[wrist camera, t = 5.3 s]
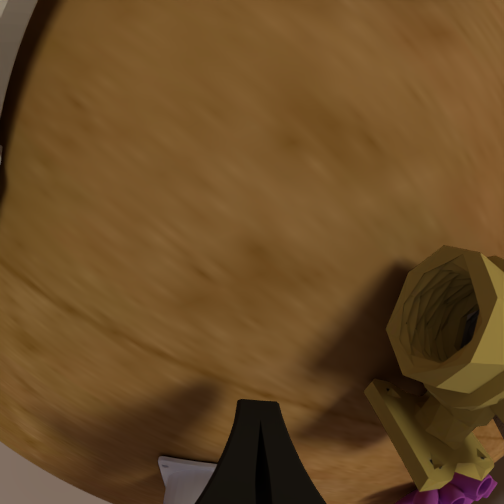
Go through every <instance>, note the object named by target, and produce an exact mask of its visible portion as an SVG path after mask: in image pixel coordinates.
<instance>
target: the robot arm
mask: <svg viewBox="0 0 504 504" xmlns="http://www.w3.org/2000/svg"><path fill="white" fill-rule="evenodd" d="M158 464H159V468H160V471H161V474H162V478H163V481H164V484H165V487H166V490H165V496H164V501H163V504H326V502H325V501H324V499H323V498H322V496H321V495H320V493H319V492H318V491H317V489H316V487H315V486H314V484H313V482H312V481H311V479H310V477H309V476H308V474H307V472H306V470H305V468H304V466H303V465H302V463H301V461H300V459H299V456H298V454H297V452H296V450H295V448H294V446H293V443H292V441H291V439H290V436H289V434H288V431H287V428H286V426H285V423H284V420H283V417H282V413H281V410H280V406H279V403H277V402H274V401H259V400H247V399H240V400H238V401H237V407H236V413H235V419H234V423H233V427H232V430H231V433H230V436H229V438H228V441H227V443H226V446H225V449H224V451H223V453H222V455H221V458H220V460H219V462H218V464H213V463H205V462H197V461H190V460H183V459H177V458H172V457H166V456H160V457H159V458H158Z"/></svg>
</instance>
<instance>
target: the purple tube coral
mask: <svg viewBox="0 0 504 504" xmlns="http://www.w3.org/2000/svg"><path fill="white" fill-rule="evenodd" d="M496 485H497V482H495V481H494V480H493V479H492V477H491V476H490V475H489V474H487V475H486V477H485V478H484V479H483V480H482V481H480V480H477V479H474V478H471V477H468V476H465V475H463V474H460V473H457V472H454V475H453V478H452V480H451V481H450V482H448V483H447V484H446V485H444V486H443V487H442V488H440V489H435V490H428V491H421V492H419V490H418V488H417V489H416V490H414V491H413V492H411V493H409V494H408V495H406V496H405V497H403V498H401V499H400V500H399V501H397V502H396V503H394V504H471V503H472V502H473V500H475V501H478V500H479V499H480V498H481V497H484V498H488V496H489V495H490V493H491V492H492V490H493V489H494V488H495V486H496Z"/></svg>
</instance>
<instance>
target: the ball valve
mask: <svg viewBox="0 0 504 504" xmlns="http://www.w3.org/2000/svg"><path fill="white" fill-rule="evenodd" d="M386 332H387V334H388V337H389V339H390V342H391V345H392V347H393V350H394V353H395V355H396V358H397V361H398V364H399V366H400V369H401V372H402V375H404V376H406V377H409V378H412V379H415V380H417V381H420V382H423V384H424V387H425V388H426V389H427V392H426V393H425V394H424V395H423V396H416V395H413V394H410V393H407V392H405V391H403V390H401V389H400V388H398V387H397V386H395V385H394V384H392V383H391V382H388V381H384V380H379V379H374V380H373V381H372V382H371V383H370V384H369V386H368V387H367V388H366V389H365V390H364V391H363V392H364V393H365V395H366V397H367V399H368V400H369V402H370V404H371V406H372V407H373V409H374V411H375V413H376V414H377V416H378V418H379V420H380V421H381V423H382V425H383V427H384V428H385V430H386V432H387V434H388V436H389V437H390V439H391V441H392V443H393V445H394V446H395V448H396V450H397V452H398V454H399V455H400V457H401V459H402V461H403V463H404V465H405V466H406V468H407V470H408V472H409V474H410V476H411V477H412V479H413V481H414V483H415V485H416V487H417V488H418V490H419V492H421V491H428V490H435V489H440V488H442V487H443V486H444V485H446V484H447V483H448V482H450V481H451V480H452V478H453V475H454V472H457V473H460V474H463V475H465V476H468V477H471V478H474V479H477V480H480V481H482V480H483V479H484V478H485V477H486V475H487V474H488V473H489V472H490V471H491V470H492V468H493V467H494V463H493V460H492V459H491V457H490V456H489V454H488V453H487V452H486V450H485V449H484V447H483V446H482V445H481V443H480V442H479V441H478V439H477V438H476V437H475V435H474V434H473V433H472V431H473V430H474V429H475V428H476V427H478V426H485V425H487V424H488V423H489V422H490V421H491V419H492V418H493V417H494V416H495V414H496V415H497V416H498V417H499V419H500V420H501V421H502V422H503V423H504V259H502V258H499V257H497V256H491V257H485V256H484V255H483V254H481V253H480V252H476V251H471V250H466V249H461V248H456V247H450V246H445V245H444V246H442V247H441V248H440V249H439V250H437V251H436V252H435V253H433V254H432V255H431V256H430V257H428V258H427V259H426V260H424V261H423V262H422V263H420V264H419V265H418V266H416V267H415V268H414V269H412V270H411V271H410V272H408V275H407V277H406V280H405V283H404V285H403V288H402V290H401V293H400V296H399V298H398V301H397V303H396V306H395V308H394V310H393V313H392V315H391V318H390V320H389V322H388V324H387V327H386Z"/></svg>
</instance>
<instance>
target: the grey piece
mask: <svg viewBox="0 0 504 504" xmlns="http://www.w3.org/2000/svg"><path fill="white" fill-rule="evenodd" d="M37 2H38V0H0V118H1V113H2V109H3V104H4V100H5V95H6V91H7V87H8V83H9V80H10V76H11V72H12V69H13V66H14V62H15V59H16V56H17V53H18V50H19V47H20V44H21V41H22V39H23V36H24V33H25V30H26V28H27V25H28V23H29V20H30V18H31V16H32V13H33V11H34V9H35V6H36V4H37ZM2 147H3V146H2V145H0V163H1V154H2Z"/></svg>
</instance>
